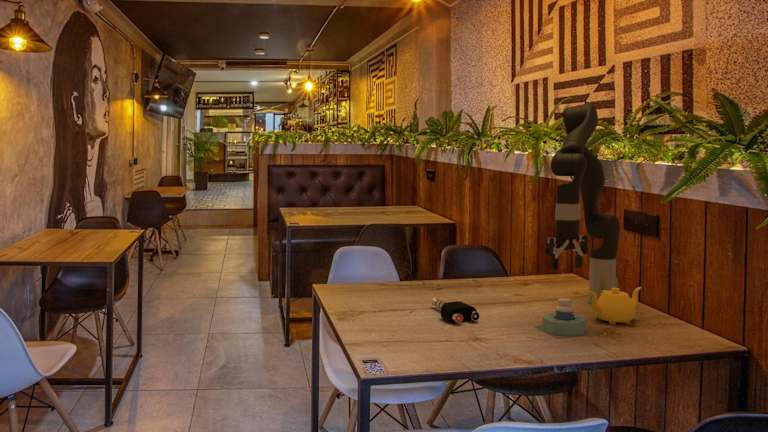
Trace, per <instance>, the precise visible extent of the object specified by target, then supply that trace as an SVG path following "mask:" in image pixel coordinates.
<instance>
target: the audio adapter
mask: <svg viewBox="0 0 768 432" xmlns="http://www.w3.org/2000/svg"><path fill="white" fill-rule="evenodd" d="M431 305H432V306H435V307H436V308H438V309H440V317H441V318H442V319H443V320H445V321H447V322H449V323H451V324H453V325H454V324H460V323H469V322H476V321H478V320H479V319H480V313H479V312H478V310H477V308H475V307H474V306H473V305H470V304H467V303H466V302H462V301H458V300H456V301H450V302H449V301H448V302H445V301H443V300H441V299H438V298H437V297H434V298H432V299H431Z"/></svg>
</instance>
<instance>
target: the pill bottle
mask: <svg viewBox="0 0 768 432" xmlns="http://www.w3.org/2000/svg"><path fill="white" fill-rule="evenodd" d="M557 302H558V305H557V306H556V307H555V313H556V319H557V320H564V321H570V320H573V314H575V312H574V307H573V306H572V299H570V298H567V297H566V298H563V297H562V298H561V297H560V298H558V301H557Z"/></svg>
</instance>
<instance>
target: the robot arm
mask: <svg viewBox="0 0 768 432" xmlns="http://www.w3.org/2000/svg"><path fill="white" fill-rule="evenodd" d="M562 121H563V125H564V129H565V133H566V137H565V138H564V140H563V143H562V146H561V147H560V148H559V149H558V150H557V151H556V152H555V153H554V155H553V156H552V158H551V161H550V170H551V171H550V172H552V174H554V176H556V177H557V176H558V177H573V179H572V181H570V182H565V183H562V184H559V185H557V186H556V191H555V192H556V193H555V194H556V197H555V198H556V199H555V203H556V204H555V209H554V210H555V211H554V233H555V236H554V237H550V236H547V237H546V238H545V253H544V254H545V255H544V256H546V257H549V258H550V267H551V270H552V271H553V270H554V271H559V256H560V255H561V254H562V253H563V252H564V251H568V250H569V251H570V250H571V251H573V253H574V254H575V256H574V267H575V268H576V269H581V268H582V267H583V256H584V255H586V254H587V255H588V253H589V273H588V275H589V276H588V277H589V278H588V280H589V281H588V303H589V304H590V305H592V295H591V293H590V292H589V291H591V292H594V293H596V295H597V300H598V298H599V297H600V293H601V291H603V290H607V291H612V289H611V288H619V286H618V283H619V279H618V278H617V277H616V274H617V253H618V250H619V240H620V239H619V238H620V230H621V229H620V228H621V225H620V220H619V218H618V216H616V215H613V214H605V213H600V212H599V207H598V206H599V205H598V201H599V197H600V196H601V193H602V191H603V189H604V186H605V182H606V179H605V173H604V168H603V165H602V161H601V160H600V159H599V158H598V157H597V156H596V155H595V153H593V152H592V151H591V150H590V149H589V148H588V147H587V144H588V141H589V139H590V138H591V137H592V135H593V134H594V132H595V131H596V129H597V128H598V122H599V116H598V110H597V107H596V106H595V105H594V104H593V103H584V104H578V105H573V106H567V107H566V108H563V111H562ZM580 196H581V198H580ZM580 200H581V202H582V209H583V218H584V226H585V231H586V233H587V235H586V234H579V233H580V232H581V207H580V206H581V205H580ZM589 237H590V238H592V239H595V240H596V239H597V240H602V241H601V245H600V246H598V247H593V248H591V249H590V250H589Z"/></svg>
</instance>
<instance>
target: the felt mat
mask: <svg viewBox="0 0 768 432" xmlns="http://www.w3.org/2000/svg"><path fill="white" fill-rule="evenodd" d="M532 328H535V329H537V330H539V331H542V332H543V333H546V334H547V335H549V336H552V337H554V338H556V339H558V340H559V339H567V338H568V339H570V338H576V337H583V336H591V335H597V333H595V332H594V331H591V330H589V329H587V328H586V331H585V333H584V334H583V335H577V336H561V335H553V334H550V333H548V332H546V331H544V330H543V324H542V325H535V326H533V327H532Z"/></svg>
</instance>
